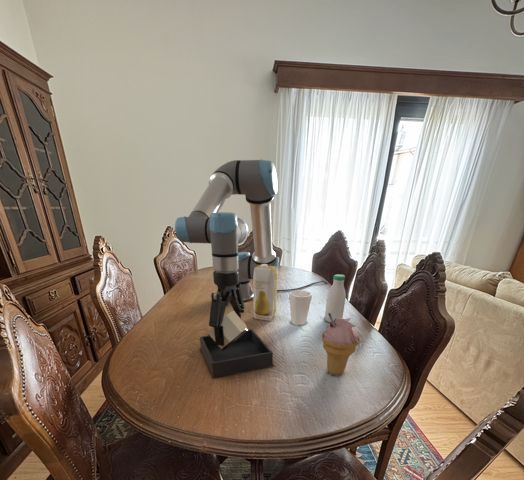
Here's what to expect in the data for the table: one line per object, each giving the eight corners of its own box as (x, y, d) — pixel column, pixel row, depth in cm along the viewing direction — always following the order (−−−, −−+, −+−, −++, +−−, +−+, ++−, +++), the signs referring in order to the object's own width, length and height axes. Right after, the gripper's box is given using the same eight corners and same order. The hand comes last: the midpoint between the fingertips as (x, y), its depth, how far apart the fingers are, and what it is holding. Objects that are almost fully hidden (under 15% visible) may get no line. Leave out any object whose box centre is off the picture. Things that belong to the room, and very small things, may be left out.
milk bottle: (342, 324, 124) (349, 278, 115) (324, 322, 126) (330, 277, 116) (341, 317, 131) (348, 273, 122) (324, 316, 132) (329, 272, 123)
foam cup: (311, 320, 128) (313, 291, 122) (307, 327, 120) (309, 298, 114) (290, 317, 131) (292, 289, 125) (285, 324, 123) (286, 295, 117)
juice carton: (251, 319, 128) (251, 264, 117) (258, 313, 135) (258, 261, 123) (271, 322, 125) (273, 266, 114) (277, 316, 132) (279, 262, 120)
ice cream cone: (333, 385, 84) (342, 322, 74) (310, 367, 92) (317, 309, 83) (360, 376, 88) (373, 315, 79) (337, 360, 97) (346, 303, 87)
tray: (252, 340, 109) (252, 328, 107) (272, 366, 93) (273, 352, 91) (201, 349, 103) (199, 336, 100) (213, 377, 87) (212, 363, 84)
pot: (201, 336, 92) (220, 318, 86) (219, 324, 101) (237, 307, 95) (217, 355, 93) (238, 338, 87) (233, 341, 102) (253, 325, 95)
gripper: (233, 262, 95) (235, 322, 105) (191, 278, 76) (199, 350, 86) (254, 264, 93) (254, 326, 103) (215, 281, 74) (220, 355, 84)
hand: (229, 337), depth 95 cm, fingers closed on pot, 11 cm apart
